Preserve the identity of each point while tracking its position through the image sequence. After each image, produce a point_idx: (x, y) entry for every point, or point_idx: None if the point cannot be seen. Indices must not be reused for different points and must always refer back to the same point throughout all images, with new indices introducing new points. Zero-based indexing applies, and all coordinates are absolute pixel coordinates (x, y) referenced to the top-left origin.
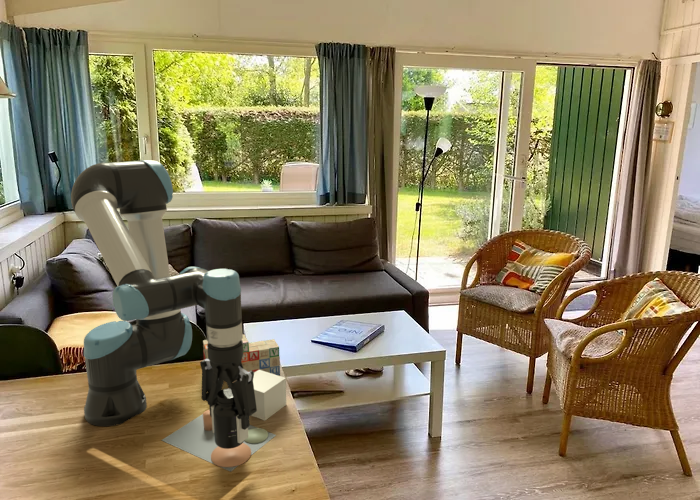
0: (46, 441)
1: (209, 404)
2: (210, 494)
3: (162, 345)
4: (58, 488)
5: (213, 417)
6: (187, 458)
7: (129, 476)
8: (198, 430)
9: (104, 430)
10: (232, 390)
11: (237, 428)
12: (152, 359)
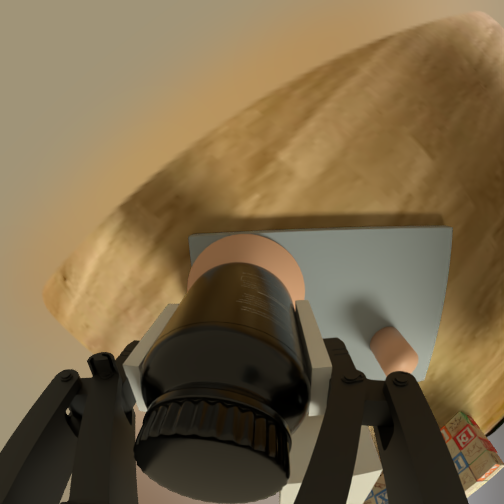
0: None
1: (347, 372)
2: (183, 151)
3: None
4: (459, 29)
5: (278, 322)
6: (355, 220)
7: (409, 94)
8: (403, 314)
9: None
10: (95, 491)
11: (156, 332)
12: None
